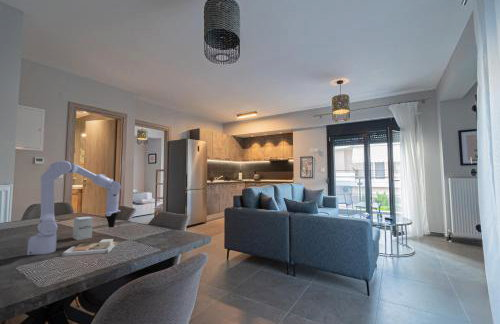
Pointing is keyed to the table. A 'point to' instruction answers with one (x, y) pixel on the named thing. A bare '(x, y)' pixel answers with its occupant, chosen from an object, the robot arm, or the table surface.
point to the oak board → (93, 245)
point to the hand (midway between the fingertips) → (111, 227)
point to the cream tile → (105, 242)
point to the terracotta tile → (82, 248)
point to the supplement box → (82, 228)
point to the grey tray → (70, 253)
